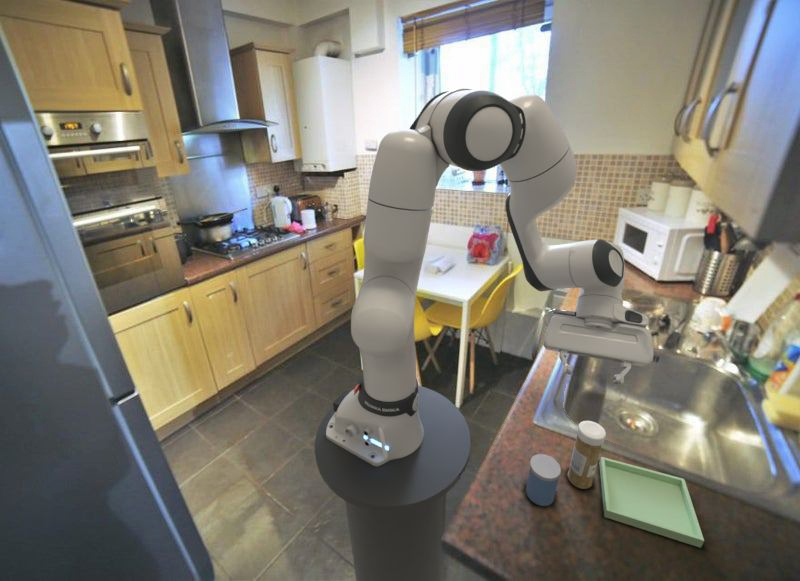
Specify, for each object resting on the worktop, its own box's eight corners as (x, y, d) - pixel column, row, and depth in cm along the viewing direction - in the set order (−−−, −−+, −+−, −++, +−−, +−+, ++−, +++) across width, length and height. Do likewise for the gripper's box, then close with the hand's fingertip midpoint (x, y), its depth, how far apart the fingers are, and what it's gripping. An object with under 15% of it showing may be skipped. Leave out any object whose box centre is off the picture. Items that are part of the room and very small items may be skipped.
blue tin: (524, 501, 68) (529, 472, 65) (526, 478, 73) (531, 450, 69) (554, 510, 66) (560, 482, 63) (554, 486, 71) (561, 458, 68)
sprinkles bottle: (595, 490, 70) (610, 439, 64) (571, 489, 70) (583, 437, 65) (586, 470, 74) (600, 419, 68) (563, 468, 74) (575, 418, 69)
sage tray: (604, 517, 65) (606, 510, 64) (599, 463, 75) (601, 456, 75) (700, 548, 60) (704, 540, 59) (681, 485, 70) (684, 478, 69)
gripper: (547, 303, 79) (538, 365, 75) (657, 318, 72) (654, 388, 68) (545, 311, 85) (537, 370, 81) (647, 326, 78) (644, 392, 74)
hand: (592, 378), depth 74 cm, fingers open, 8 cm apart
